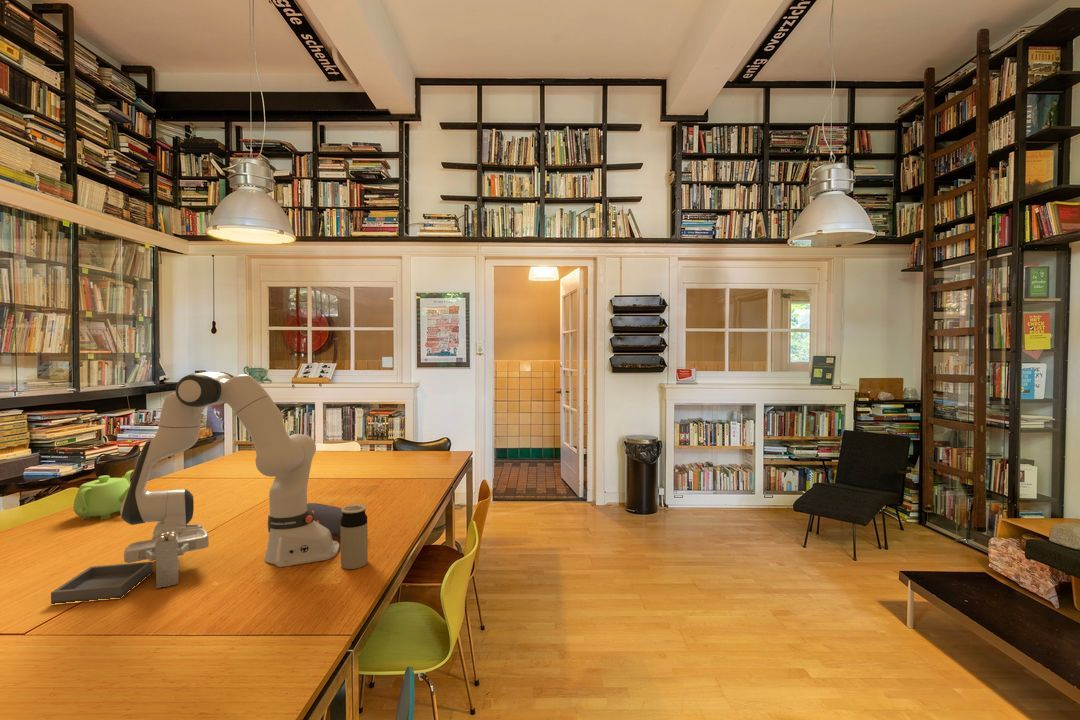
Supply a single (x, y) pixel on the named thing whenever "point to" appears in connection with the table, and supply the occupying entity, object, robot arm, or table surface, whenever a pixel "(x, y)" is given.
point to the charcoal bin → (102, 582)
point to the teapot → (101, 496)
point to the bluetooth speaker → (327, 516)
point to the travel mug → (354, 537)
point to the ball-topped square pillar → (167, 560)
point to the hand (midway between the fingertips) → (167, 555)
